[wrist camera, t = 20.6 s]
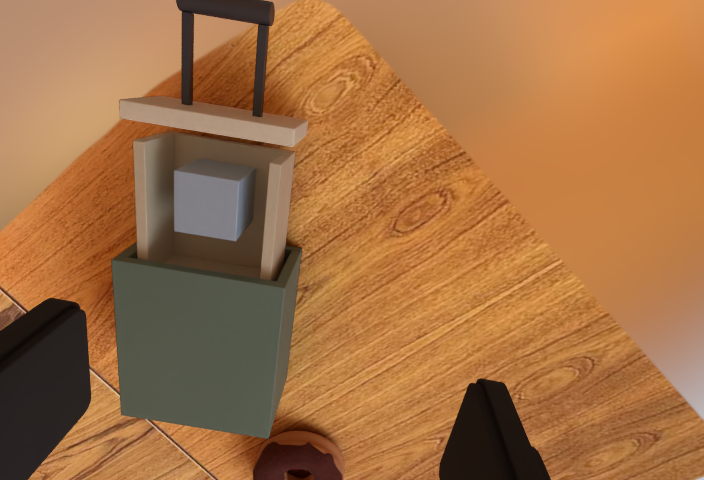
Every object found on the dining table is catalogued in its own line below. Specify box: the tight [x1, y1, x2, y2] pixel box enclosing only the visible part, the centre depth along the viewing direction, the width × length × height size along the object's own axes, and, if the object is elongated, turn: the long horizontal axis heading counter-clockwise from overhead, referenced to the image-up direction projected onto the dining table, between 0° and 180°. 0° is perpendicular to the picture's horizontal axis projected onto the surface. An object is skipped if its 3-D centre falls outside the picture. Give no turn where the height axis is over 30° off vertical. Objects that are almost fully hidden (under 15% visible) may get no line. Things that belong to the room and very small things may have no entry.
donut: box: [253, 431, 345, 480], centre depth 44 cm, size 10×10×4 cm
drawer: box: [119, 0, 308, 282], centre depth 31 cm, size 21×11×6 cm, turn 171°
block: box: [174, 158, 256, 241], centre depth 31 cm, size 4×4×4 cm
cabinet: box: [111, 242, 302, 439], centre depth 36 cm, size 15×13×8 cm
